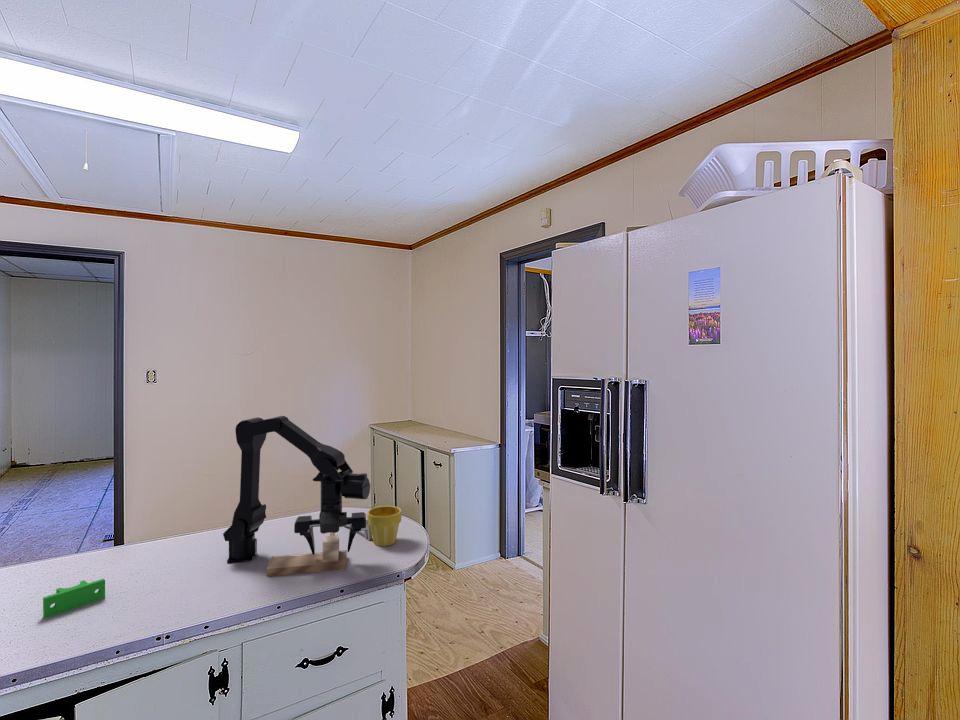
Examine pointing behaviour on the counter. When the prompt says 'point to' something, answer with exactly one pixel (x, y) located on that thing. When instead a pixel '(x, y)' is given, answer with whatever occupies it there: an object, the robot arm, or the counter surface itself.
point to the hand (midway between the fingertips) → (331, 553)
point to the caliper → (365, 531)
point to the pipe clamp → (73, 597)
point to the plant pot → (384, 524)
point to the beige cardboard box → (331, 548)
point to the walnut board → (304, 564)
